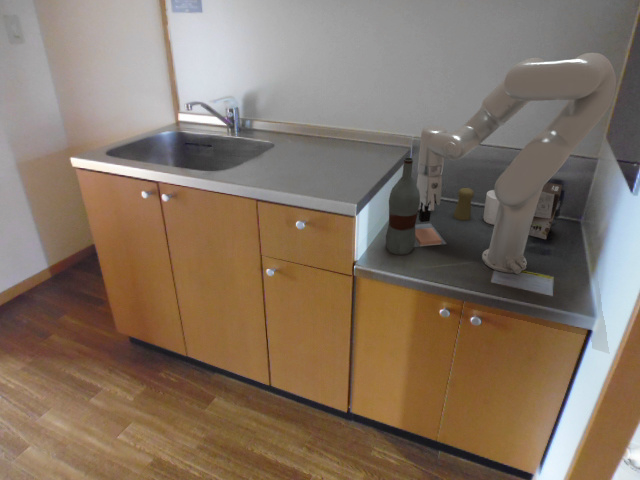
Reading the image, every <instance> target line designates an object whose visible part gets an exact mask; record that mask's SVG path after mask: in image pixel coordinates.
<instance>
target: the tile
mask: <svg viewBox="0 0 640 480" xmlns="http://www.w3.org/2000/svg"><path fill="white" fill-rule="evenodd" d="M415 236H416V241H417V243H418V244H419V246H420V247H428V245H431V246H438V244H441V239H440V237H439V236H438V235H437V234H436V232H435V231H434V230H433V229H432V228H426V229H415ZM441 245H442V244H441Z"/></svg>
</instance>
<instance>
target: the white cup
mask: <svg viewBox="0 0 640 480" xmlns="http://www.w3.org/2000/svg"><path fill="white" fill-rule="evenodd" d="M484 202H485V203H484V209H483V211H484V212H483V218H482V219H483V221H484V222H486V223H487V224H489V225H493V226H494V225H495V220H496V215H497V212H498V207H499V203H500V202H499V201H498V200H497V198H496V196H495V192H494V189H491V190H488V191H487V192H486V197H485V201H484Z"/></svg>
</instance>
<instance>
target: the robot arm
mask: <svg viewBox="0 0 640 480" xmlns="http://www.w3.org/2000/svg"><path fill="white" fill-rule="evenodd" d="M616 86H617V79H616V73H615V70H614V67H613V65H612V63H611V62H610V60H609V59H608V58H607V57H606V56H605V55H604V54H601V53H597V52H586V53H583V54H580V55H579V56H577V57H575V58H573V59H571V58H570V59H562V60H551V61H549V60H548V61H546V59H543V58H540V57H532V58H531V57H530V58H527V59H524V60H523V61H521V62H518V63H517V64H515V65H513V66H512V67H511V68H510V69H509V70H508V72H507V73H506V75H505V77H504V79H503V80H502V81H501V82H500V83H499V84H498V85H497V86H496V87H495V88H494V89H493V90H491V92H490V93H488V95H486V97H484V99H483V100H482V103H481V106H480V108H479V109H478V110H477V112H476V113H475V114H473V116H472V117H470V119H468V121H467V122H465V124H463V125H462V126H461V127H459V128H458V129H457V130H455V131H452V132H449V133H448V131H447V129H445V128H444V127H443V126H438V125H431V126H425V127H424V128H423V129H422V130H421V133H420V143H419V152H418V162H417V170H416V171H417V174H418V175H417V178H416V186H417V188H418V190H419V193H420V211H419V210H418V211H419V212H418V220H419V222H420V223H426V222H430V221H431V214H432V212H434V211H435V205H436V206H440V204H441V198H442V184H443V183H442V182H443V180H442V174H443V169H444V164H445V160H446V159H447V160H450V161H457V160H461V159H463V158H464V157H465V156H466V155H468V154H469V153H470V152H472V151H474V150H475V149H477V147H478V146H480V145H481V144H482V143H483V142H484V141H485V140H486V139H487V138H489V137H490V136H491V135H492V134H493V133H494V132H496V130H498V129H499V128H500V127H502V126H504V125H505V124H506V123H507V122H508V121H509V120H510V119H511V118H513V116H515V115H517V113H518V112H519V111H520V110H522V108H524V107H525V106H526V105H527V104H528V103H530V102H532V101H534V102H535V101H536V102H537V101H539V102H540V101H542V102H543V101H566V103H565V104H564V105H563V107H562V108H561V109H560V110H559V111H558V112H557V114H556V115H555V116H554V118H553V119H552V120H551V121H550V122H549V124H548V125H547V126H546V127H545V128H544V129H543V130H542V131H541V132H540V133H538V134H537V135H535V137H534V138H532V139H531V140H530V141H529V142H528V143H526V145H525V146H524V147H522V149H521V150H520V151H519V153H518V154H517V155H516V156H515V158H514V159H513V160H512V161H511V162H510V164H509V165H508V166H507V167H506V169H504V171H503V172H502V173H501V174H500V175H499V177H498V178H497V179H496V181H495V184H494V187H493V188H494V189H493V190H494V192H495V196H496V198H497V200H498V201H499V202H500V203H499V207H498V212H497V215H496V220H495V225H493V230H492V234H491V239H490V244H489V248H487V249H485V250H484V251H483V252H482V254H481V260H482V262H483V263H484V264H485V265H486V266H488V267H489V268H490V269H492V270H495V271H498V272H501V273H507V274H508V273H511V274H516V275H519V274H520V273H522V271H524V270H525V271H526V269H527V265H528V263H527V259H526V258H525V255H524V253H525V250H526V245H527V241H528V238H529V236H530V235H529V231H530V228H531V224H532V220H533V217H534V213H535V210H536V206H537V203H538V200H539V197H540V194H541V192H542V189H543V186H544V185H545V184H546V183H549V180H551V178H553V176H554V175H555V174H557V172H558V171H559V170H560V169H561V168H562V167H563V165H564V164H565V163H566V161H567V160H568V158H570V156H571V154H572V152H573V151H574V150H575V149H576V148H577V146H579V144H580V143H581V142H582V141H583V140H584V139H585V138H586V137H587V136H588V134H589V133H590V132H591V131H592V130H593V129H594V127H595V126H596V125H597V124H598V123H599V122H600V121H601V120H602V119H603V116H604V115H605V114H606V113H607V111H608V109H609V108H610V106H611V104H612V101H613V99H614V96H615V92H616Z"/></svg>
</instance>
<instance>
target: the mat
mask: <svg viewBox="0 0 640 480" xmlns="http://www.w3.org/2000/svg"><path fill="white" fill-rule="evenodd" d="M426 228H432V229H433V230H434V231H435V232H436V234H437V235H438V236H439V237H440V239H441V244H438V245H439V246H440V245H447V242H446V241H445V239H443V237H442V236H441V235H440V233H439V232H438V231H437V230H436V228H435V227H434V226H433V225H432V223H421V224H420V223H419V224H415V229H426ZM438 245H437V246H438ZM428 246H429V247H430V246H432V245H428ZM428 246H427V247H428ZM419 247H421V246H419V244H418V243H417V241H416V240H415V244H414V247H413V248H419Z"/></svg>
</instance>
